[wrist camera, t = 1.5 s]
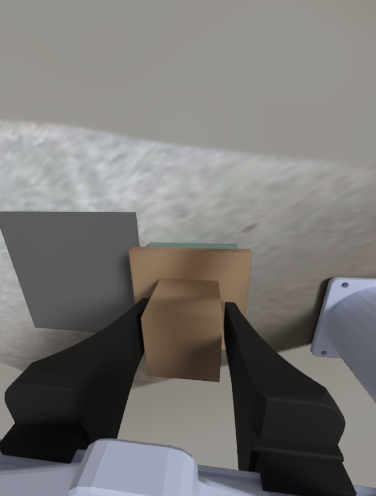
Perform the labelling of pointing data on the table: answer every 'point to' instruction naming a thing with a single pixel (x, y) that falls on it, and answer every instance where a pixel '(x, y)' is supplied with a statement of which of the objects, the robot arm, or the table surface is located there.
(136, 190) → the table surface
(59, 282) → the mat
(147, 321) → the lid
